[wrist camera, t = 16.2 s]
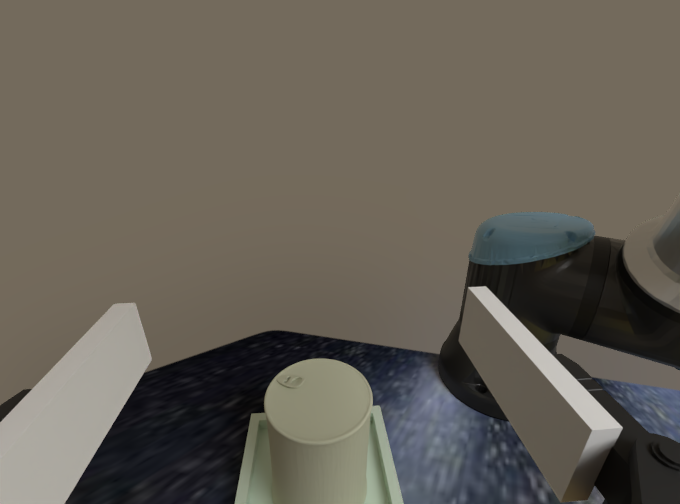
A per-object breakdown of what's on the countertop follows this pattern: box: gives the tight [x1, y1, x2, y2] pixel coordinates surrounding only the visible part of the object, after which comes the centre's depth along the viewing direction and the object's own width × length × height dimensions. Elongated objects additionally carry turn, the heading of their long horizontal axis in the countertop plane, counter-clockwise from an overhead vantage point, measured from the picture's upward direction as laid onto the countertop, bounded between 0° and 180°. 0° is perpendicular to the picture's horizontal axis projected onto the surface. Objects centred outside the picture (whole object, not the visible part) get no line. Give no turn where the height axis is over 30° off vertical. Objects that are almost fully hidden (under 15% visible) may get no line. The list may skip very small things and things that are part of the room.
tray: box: [235, 406, 404, 504], centre depth 33 cm, size 15×15×2 cm
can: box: [264, 359, 373, 504], centre depth 31 cm, size 9×9×12 cm
